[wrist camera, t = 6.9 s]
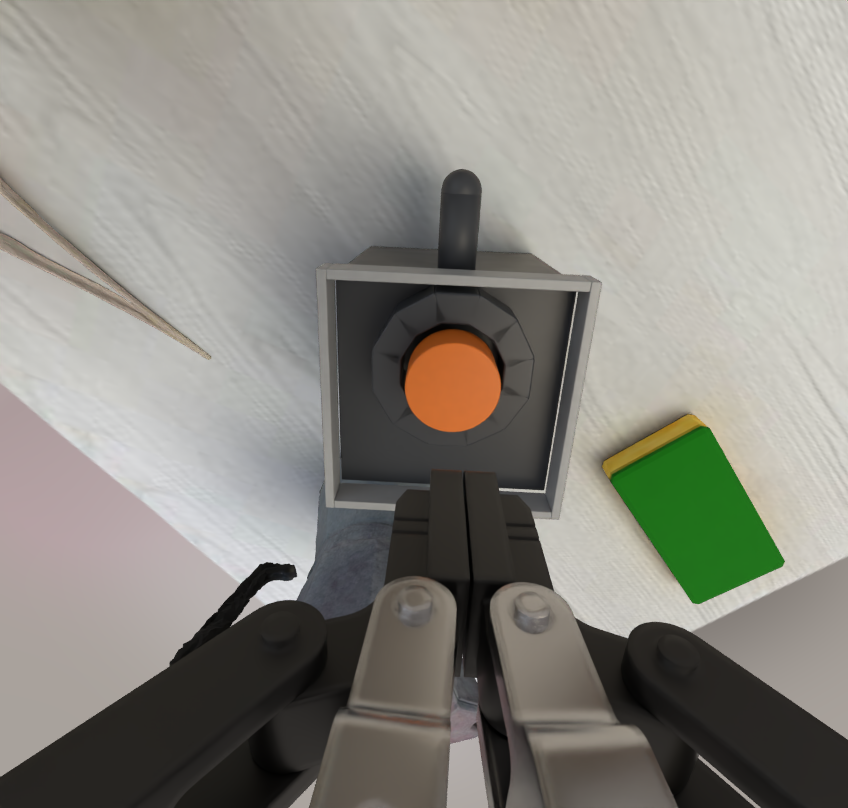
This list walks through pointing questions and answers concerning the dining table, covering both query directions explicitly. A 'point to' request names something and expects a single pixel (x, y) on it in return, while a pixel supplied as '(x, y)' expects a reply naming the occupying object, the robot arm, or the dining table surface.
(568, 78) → the dining table surface
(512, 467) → the grey button box
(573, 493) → the dining table surface
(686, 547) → the dish sponge
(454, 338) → the lid button
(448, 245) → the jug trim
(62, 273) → the tweezers
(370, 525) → the moka pot
